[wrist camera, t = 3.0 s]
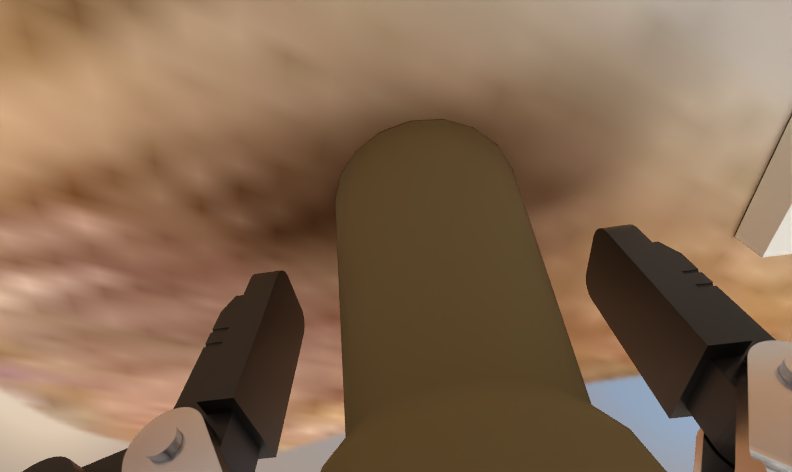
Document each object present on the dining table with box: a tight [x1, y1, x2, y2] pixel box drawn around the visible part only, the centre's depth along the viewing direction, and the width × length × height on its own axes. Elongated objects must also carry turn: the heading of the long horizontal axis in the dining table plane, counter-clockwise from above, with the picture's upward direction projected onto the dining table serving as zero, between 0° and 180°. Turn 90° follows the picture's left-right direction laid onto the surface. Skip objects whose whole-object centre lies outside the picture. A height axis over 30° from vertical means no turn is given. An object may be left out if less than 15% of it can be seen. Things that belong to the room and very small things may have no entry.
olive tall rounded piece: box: [321, 119, 667, 472], centre depth 8 cm, size 6×6×11 cm
